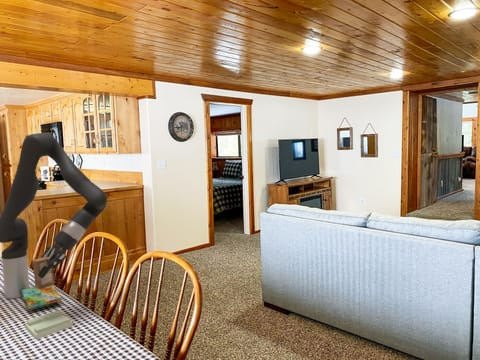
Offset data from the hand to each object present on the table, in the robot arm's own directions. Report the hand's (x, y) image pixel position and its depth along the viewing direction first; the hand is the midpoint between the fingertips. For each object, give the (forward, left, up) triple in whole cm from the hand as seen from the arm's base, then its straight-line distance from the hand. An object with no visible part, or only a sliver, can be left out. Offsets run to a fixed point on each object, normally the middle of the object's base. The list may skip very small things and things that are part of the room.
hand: (37, 275), depth 128 cm
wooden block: (0, +2, -5) cm, 5 cm away
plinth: (+4, +1, -18) cm, 19 cm away
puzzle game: (-22, +7, -19) cm, 30 cm away
